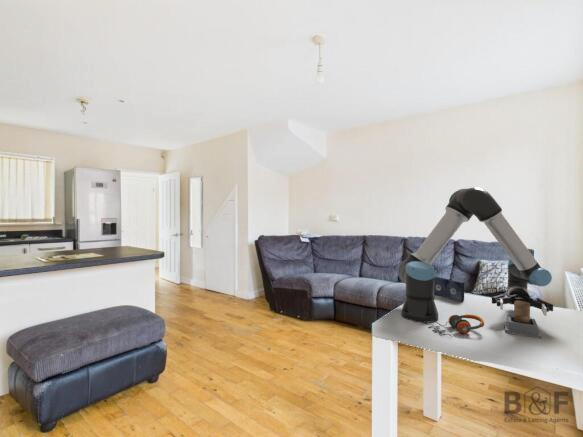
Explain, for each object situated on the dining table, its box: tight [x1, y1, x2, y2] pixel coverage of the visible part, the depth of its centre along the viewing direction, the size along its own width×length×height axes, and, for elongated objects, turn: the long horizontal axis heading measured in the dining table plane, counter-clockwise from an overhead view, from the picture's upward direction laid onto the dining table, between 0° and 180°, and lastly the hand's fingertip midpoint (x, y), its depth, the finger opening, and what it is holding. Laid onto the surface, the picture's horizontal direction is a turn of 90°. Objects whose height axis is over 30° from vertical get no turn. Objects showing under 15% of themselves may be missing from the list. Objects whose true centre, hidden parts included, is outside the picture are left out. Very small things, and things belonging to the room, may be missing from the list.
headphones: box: [424, 313, 485, 338], centre depth 127 cm, size 17×5×20 cm
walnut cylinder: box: [513, 301, 531, 324], centre depth 126 cm, size 5×5×10 cm
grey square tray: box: [503, 315, 542, 339], centre depth 126 cm, size 11×11×4 cm
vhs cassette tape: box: [434, 275, 465, 303], centre depth 173 cm, size 18×3×10 cm, turn 27°
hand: (522, 309), depth 124 cm, fingers open, 13 cm apart
